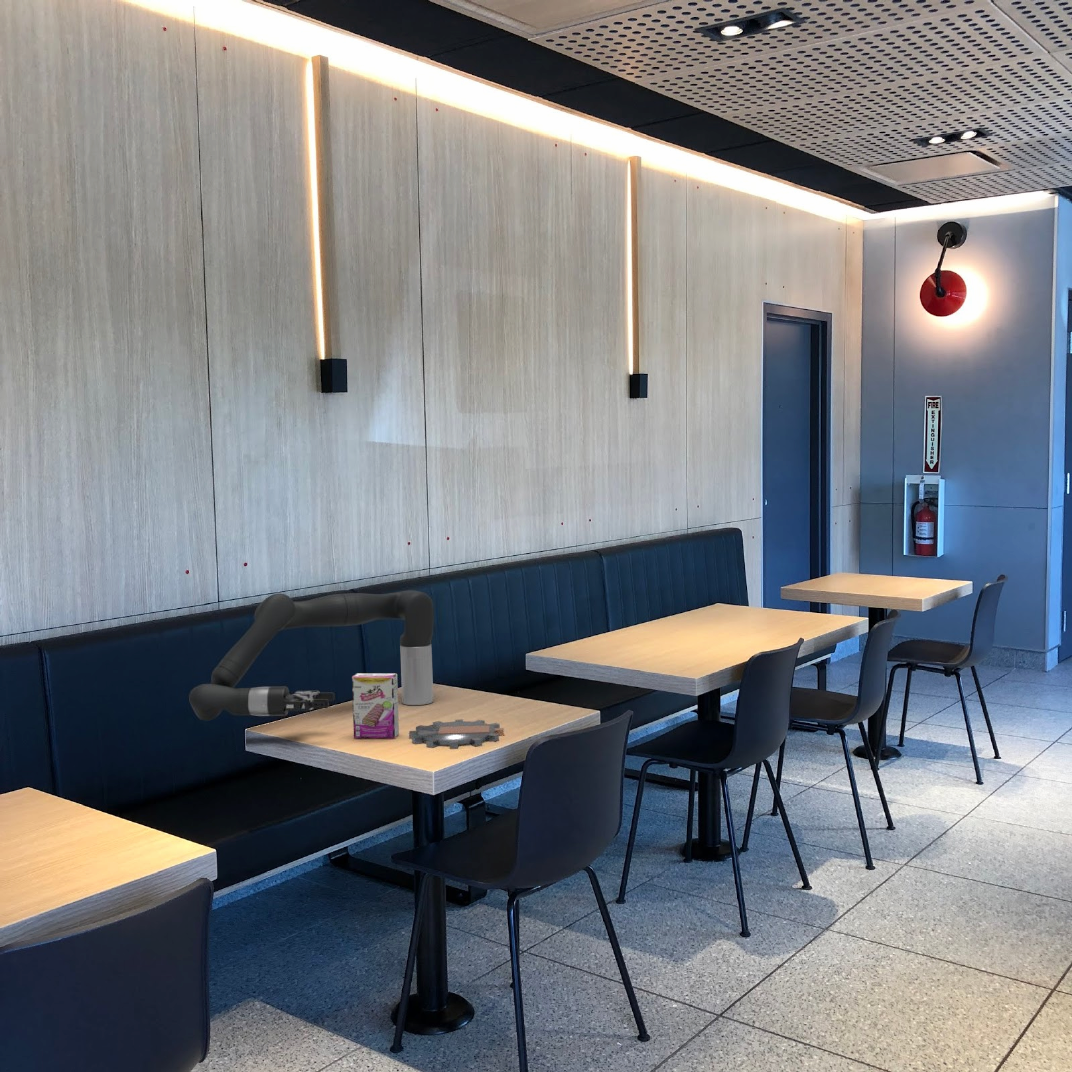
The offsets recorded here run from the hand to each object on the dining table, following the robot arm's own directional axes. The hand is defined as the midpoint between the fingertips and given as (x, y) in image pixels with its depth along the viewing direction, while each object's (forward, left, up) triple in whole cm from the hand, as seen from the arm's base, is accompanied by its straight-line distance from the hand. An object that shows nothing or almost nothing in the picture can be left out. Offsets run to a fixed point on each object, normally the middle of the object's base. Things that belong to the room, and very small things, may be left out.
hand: (331, 700), depth 290 cm
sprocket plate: (+2, +32, -10) cm, 34 cm away
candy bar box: (0, +11, -10) cm, 15 cm away
